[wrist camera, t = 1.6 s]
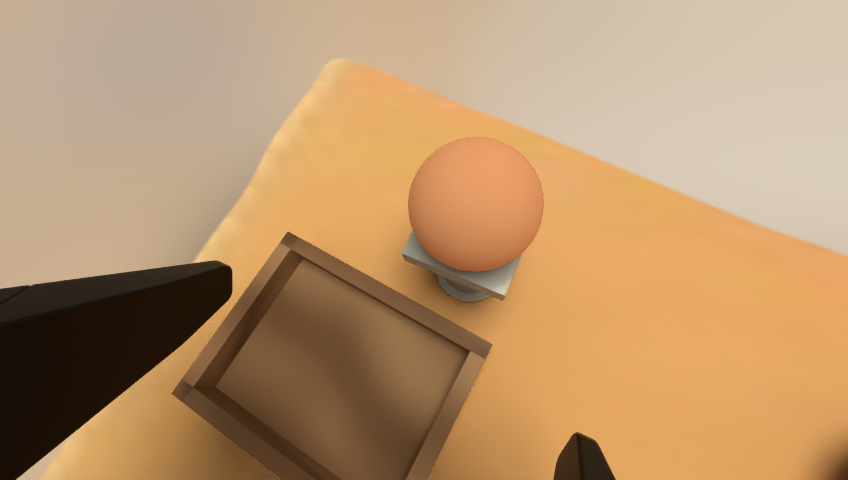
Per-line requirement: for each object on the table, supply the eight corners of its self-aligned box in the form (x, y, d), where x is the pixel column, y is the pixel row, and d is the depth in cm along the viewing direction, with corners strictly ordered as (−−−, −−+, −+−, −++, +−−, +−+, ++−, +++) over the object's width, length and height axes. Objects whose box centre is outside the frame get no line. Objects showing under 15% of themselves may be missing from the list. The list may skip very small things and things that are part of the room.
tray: (395, 539, 18) (386, 560, 15) (200, 392, 21) (171, 393, 19) (489, 348, 20) (492, 344, 18) (303, 244, 23) (287, 231, 21)
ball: (499, 307, 15) (517, 273, 10) (395, 253, 16) (368, 201, 12) (549, 208, 16) (584, 139, 12) (449, 165, 18) (444, 87, 13)
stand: (492, 320, 21) (505, 295, 15) (418, 288, 22) (401, 253, 16) (520, 249, 22) (542, 199, 16) (449, 222, 23) (445, 166, 17)
